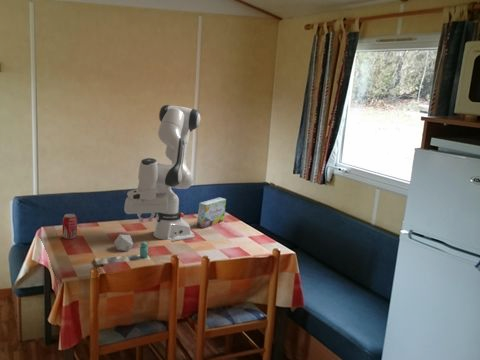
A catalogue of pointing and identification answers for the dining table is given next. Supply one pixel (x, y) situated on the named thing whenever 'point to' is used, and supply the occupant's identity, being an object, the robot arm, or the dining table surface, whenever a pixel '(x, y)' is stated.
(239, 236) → the dining table surface
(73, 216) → the soda can
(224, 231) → the dining table surface
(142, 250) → the pawn
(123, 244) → the die
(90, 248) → the dining table surface
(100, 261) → the track
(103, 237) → the dining table surface
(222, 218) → the snack box
